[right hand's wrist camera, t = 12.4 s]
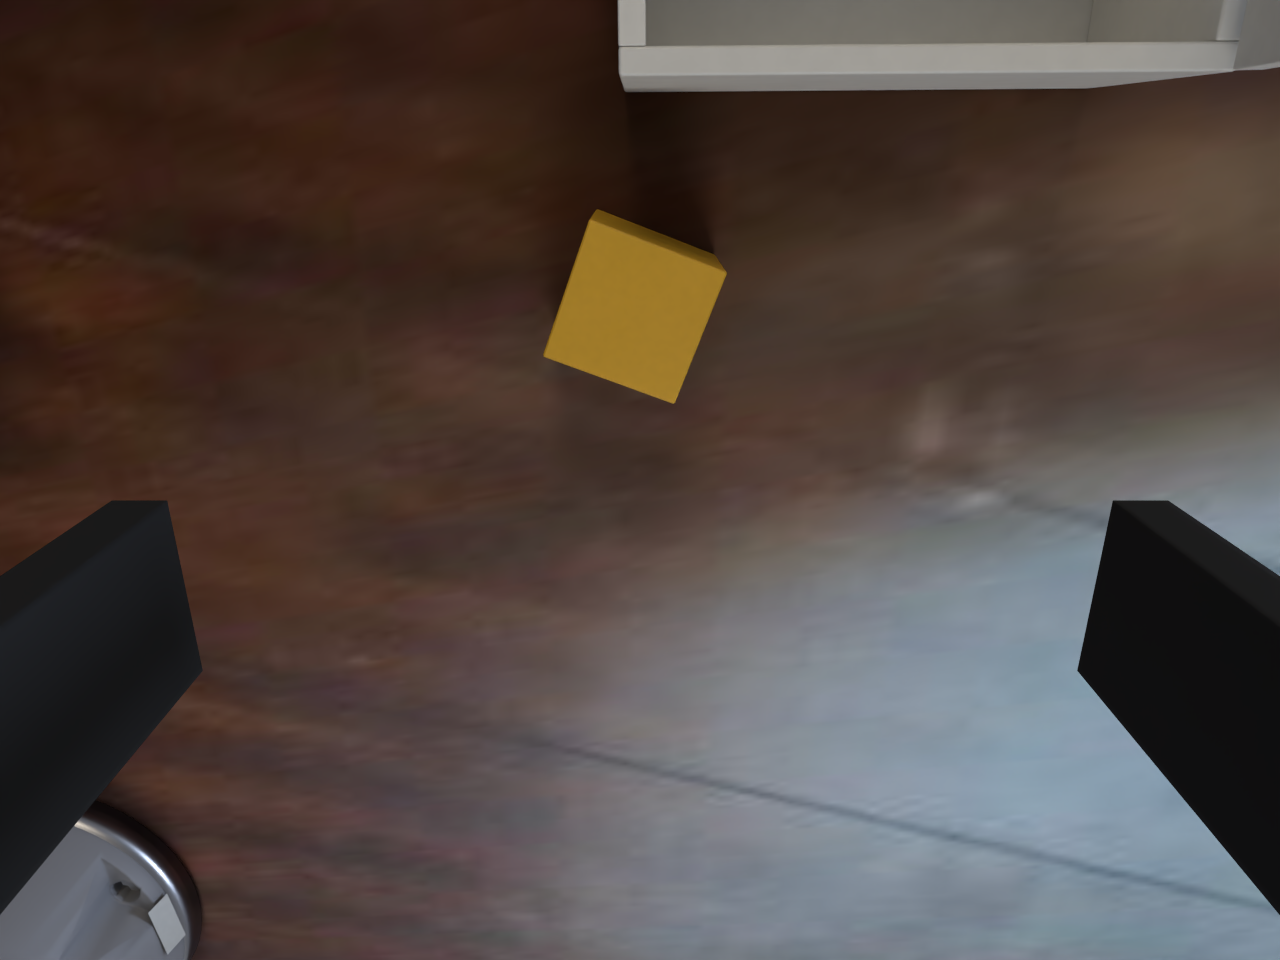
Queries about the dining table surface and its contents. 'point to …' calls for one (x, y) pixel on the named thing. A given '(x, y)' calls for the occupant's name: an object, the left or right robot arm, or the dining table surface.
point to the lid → (1259, 36)
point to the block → (635, 306)
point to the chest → (920, 43)
